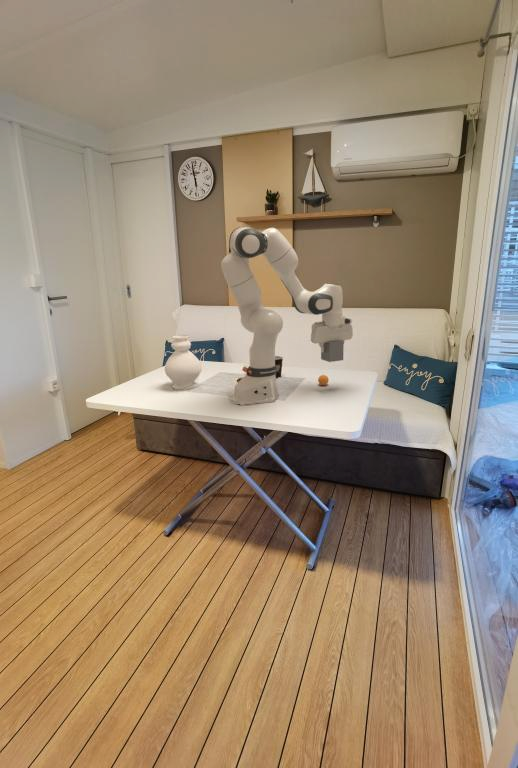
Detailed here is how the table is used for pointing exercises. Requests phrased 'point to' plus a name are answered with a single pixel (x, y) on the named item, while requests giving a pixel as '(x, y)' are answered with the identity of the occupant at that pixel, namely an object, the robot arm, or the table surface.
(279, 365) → the coffee mug
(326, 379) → the ball
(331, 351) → the grey block
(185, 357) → the decorative vase
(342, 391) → the table surface
